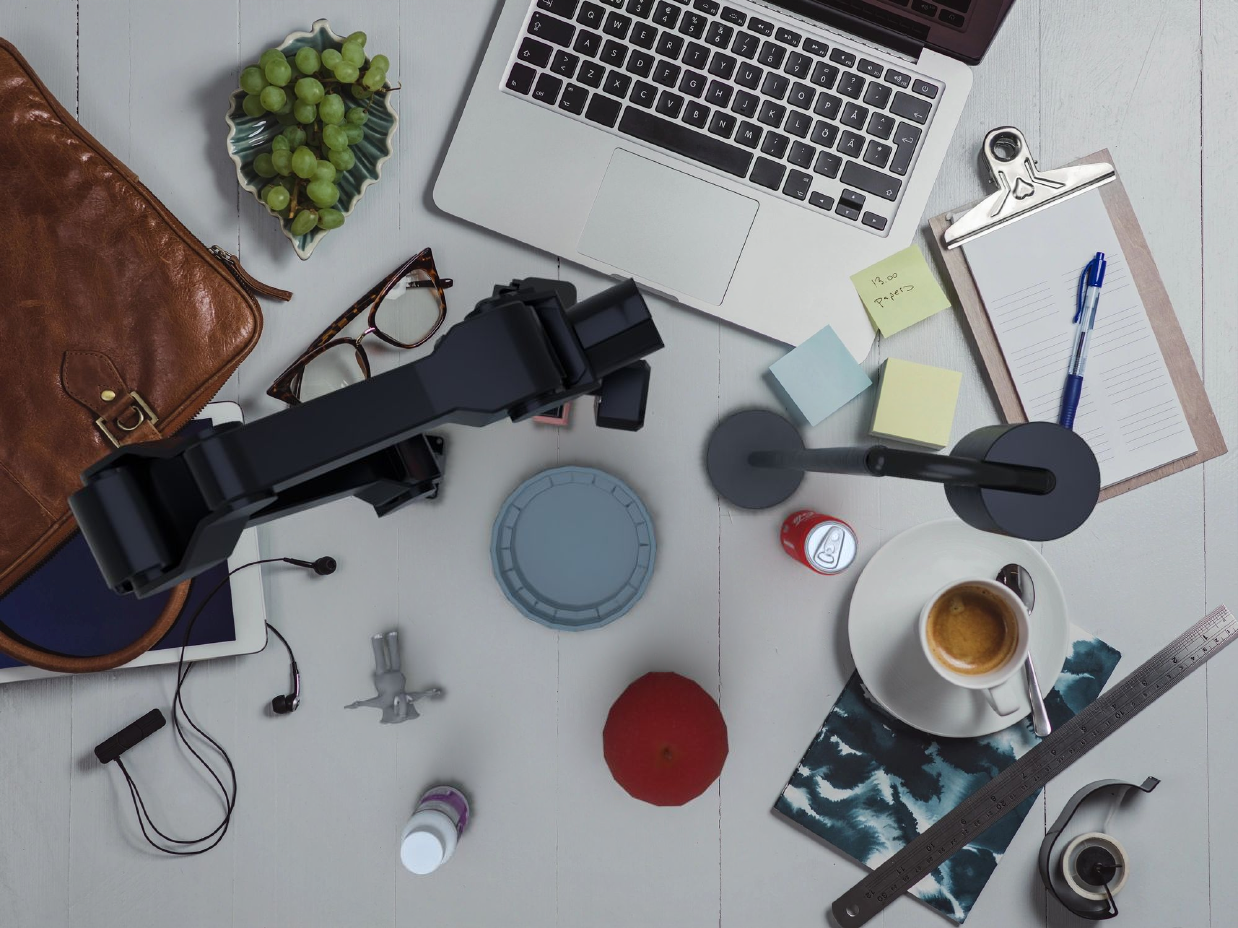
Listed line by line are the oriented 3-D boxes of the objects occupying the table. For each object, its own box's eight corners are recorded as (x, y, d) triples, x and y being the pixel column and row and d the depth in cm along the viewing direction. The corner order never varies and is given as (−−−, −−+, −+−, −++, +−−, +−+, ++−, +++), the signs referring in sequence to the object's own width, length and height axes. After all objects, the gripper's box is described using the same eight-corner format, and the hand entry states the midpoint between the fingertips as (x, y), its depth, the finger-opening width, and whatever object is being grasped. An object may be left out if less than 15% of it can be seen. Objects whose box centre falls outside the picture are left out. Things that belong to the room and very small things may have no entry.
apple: (628, 638, 86) (627, 671, 73) (735, 676, 86) (754, 716, 72) (589, 747, 86) (581, 800, 73) (696, 786, 86) (707, 846, 73)
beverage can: (770, 548, 86) (792, 563, 74) (789, 501, 86) (815, 509, 74) (817, 567, 86) (847, 585, 74) (837, 520, 85) (869, 531, 73)
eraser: (537, 421, 86) (532, 420, 82) (544, 364, 86) (540, 359, 82) (567, 425, 86) (564, 424, 82) (574, 367, 86) (571, 363, 82)
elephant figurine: (440, 621, 87) (456, 709, 83) (418, 637, 91) (432, 722, 88) (344, 631, 80) (357, 726, 77) (325, 648, 85) (336, 739, 81)
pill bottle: (453, 845, 87) (430, 893, 77) (409, 817, 87) (381, 862, 77) (480, 801, 86) (460, 844, 77) (436, 773, 87) (412, 813, 77)
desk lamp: (699, 501, 86) (768, 549, 41) (712, 404, 86) (795, 347, 41) (855, 521, 85) (1095, 591, 41) (867, 424, 85) (1122, 387, 41)
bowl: (488, 612, 86) (481, 619, 82) (508, 456, 86) (501, 456, 82) (644, 632, 86) (644, 641, 82) (664, 476, 86) (665, 477, 82)
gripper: (662, 287, 65) (656, 320, 81) (425, 257, 65) (465, 296, 81) (643, 429, 65) (641, 435, 81) (407, 399, 65) (450, 410, 81)
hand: (550, 391), depth 81 cm, fingers open, 9 cm apart
